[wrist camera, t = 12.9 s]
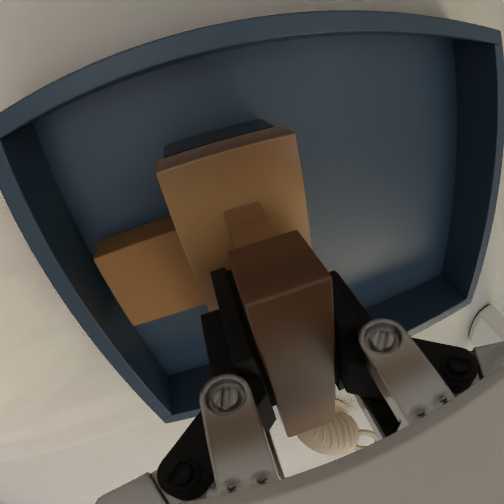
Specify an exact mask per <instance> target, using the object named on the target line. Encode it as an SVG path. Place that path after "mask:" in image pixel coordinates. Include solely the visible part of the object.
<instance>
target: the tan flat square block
mask: <svg viewBox="0 0 504 504" xmlns="http://www.w3.org/2000/svg"><path fill="white" fill-rule="evenodd" d="M93 259H94V262H95V263H96V265H97V267H98V269H99V270H100V272H101V274H102V276H103V278H104V279H105V281H106V283H107V284H108V286H109V288H110V289H111V291H112V293H113V295H114V296H115V298H116V299H117V301H118V303H119V304H120V306H121V308H122V309H123V311H124V312H125V314H126V316H127V317H128V319H129V320H130V322H131V323H132V325H133V326H135V325H139V324H142V323H145V322H149V321H152V320H155V319H159V318H162V317H165V316H169V315H172V314H175V313H178V312H182V311H185V310H188V309H191V308H195V307H198V306H201V305H204V304H206V303H205V301H204V299H203V296H202V294H201V291H200V289H199V287H198V284H197V282H196V279H195V277H194V274H193V272H192V269H191V267H190V264H189V262H188V259H187V257H186V254H185V252H184V249H183V247H182V244H181V242H180V239H179V236H178V234H177V231H176V229H175V226H174V223H173V221H172V218H171V216H168V217H165V218H162V219H159V220H156V221H153V222H150V223H148V224H145V225H142V226H139V227H136V228H133V229H131V230H128V231H125V232H122V233H119V234H117V235H114V236H111V237H109V238H106V239H103V240H101V241H99V242H98V245H97V248H96V252H95V255H94V258H93Z"/></svg>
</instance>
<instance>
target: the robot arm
mask: <svg viewBox="0 0 504 504" xmlns="http://www.w3.org/2000/svg"><path fill="white" fill-rule="evenodd" d="M329 273H330V275H331V276H332V286H333V306H334V333H335V384H336V386H337V387H338V389H339V390H342V389H344V388H345V390H346V392H348V393H351V394H355V397H356V399H357V401H358V403H359V405H360V407H361V408H362V410H363V412H364V414H365V416H366V418H367V420H368V421H369V423H370V425H371V427H372V429H373V431H374V432H375V434H376V436H377V438H378V440H379V441H377V442H375V443H373V444H371V445H369V446H367V447H365V448H362V449H360V450H358V451H356V452H353V453H351V454H349V455H346V456H344V457H342V458H339V459H337V460H334V461H332V462H329V463H327V464H324V465H321V466H319V467H316V468H313V469H311V470H308V471H305V472H302V473H299V474H296V475H293V476H290V477H287V478H285V475H284V473H283V470H282V467H281V464H280V461H279V458H278V455H277V452H276V449H275V446H274V443H273V440H272V436H271V433H270V428H271V427H272V425H273V423H274V422H275V420H276V417H275V413H274V410H273V408H272V406H275V405H276V402H275V399H274V396H273V393H272V390H271V387H270V384H269V381H268V378H267V375H266V372H265V369H264V366H263V363H262V360H261V357H260V354H259V351H258V348H257V345H256V342H255V340H254V337H253V334H252V331H251V328H250V325H249V322H248V319H247V316H246V313H245V310H244V307H243V304H242V301H241V298H240V295H239V292H238V288H237V285H236V282H235V279H234V276H233V273H232V269H231V270H228V271H226V268H225V267H223V268H220V269H217V270H214V271H211V272H210V274H211V278H212V282H213V287H214V291H215V295H216V299H217V303H218V307H219V309H217V310H214V311H211V312H208V313H204V314H201V316H200V317H201V323H202V329H203V334H204V339H205V344H206V350H207V355H208V360H209V365H210V370H211V374H212V379H211V380H210V381H208V382H207V383H206V384H205V386H204V387H203V388H202V390H201V393H200V407H201V411H200V412H199V414H198V415H197V416H196V418H195V419H194V420H193V422H192V423H191V424H190V426H189V427H188V428H187V429H186V431H185V432H184V433H183V435H182V436H181V437H180V439H179V440H178V441H177V442H176V444H175V445H174V446H173V448H172V449H171V450H170V451H169V453H168V454H167V455H166V457H165V458H164V459H163V460H162V462H161V463H160V465H159V467H158V470H156V471H154V472H153V473H151V474H150V473H148V472H147V473H145V474H143V475H142V476H140V477H138V478H136V479H134V480H132V481H130V482H128V483H126V484H124V485H122V486H120V487H118V488H116V489H114V490H112V491H110V492H108V493H106V494H104V495H102V496H101V497H100V498H98V500H97V501H96V503H95V504H504V341H502V342H498V343H493V344H489V345H484V346H479V347H474V348H473V351H468V350H467V349H464V348H461V347H456V346H451V345H446V344H441V343H435V342H430V341H426V340H421V339H416V338H411V337H410V335H409V334H408V333H407V332H406V330H405V329H404V328H403V327H402V326H401V325H400V324H399V323H398V322H396V321H394V320H392V319H387V318H378V319H374V320H372V318H371V317H370V315H369V314H368V313H367V311H366V310H365V309H364V307H363V306H362V304H361V303H360V302H359V300H358V299H357V298H356V296H355V295H354V294H353V292H352V291H351V290H350V288H349V287H348V286H347V284H346V283H345V282H344V280H343V279H342V278H341V276H340V275H339V274H338V273H337V272H336V271H335V270H333V271H330V272H329Z"/></svg>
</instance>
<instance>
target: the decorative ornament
mask: <svg viewBox="0 0 504 504" xmlns="http://www.w3.org/2000/svg"><path fill="white" fill-rule="evenodd" d="M347 413H348V407H347V406H346V405H345V403H344V402H340V401H339V400H338V399H335V420H334V421H332V422H330V423H327V424H325V425H322V426H319V427H317V428H314V429H311V430H309V431H306V432H303V433H300V434H298V435H297V436H298V438H299V439H300V440H301V441H302V442H303V443H304V444H305V445H306V446H308V447H309V448H311V449H312V450H314V451H316V452H318V453H321V454H325V455H342V454H346V453H349V452H351V451H352V450H353V449H354V450H357V451H358V450H360V449H362V448H365V447H367V446H359V445H357V443H358V441H359V436H360V435H367V436H371V437H373V438H374V439H375V442H377V441H379V440H378V438H377V436H376V434H375V432H373V431H370V430H359V428H358V425H357V423H356V422H355V420H354V419H353V418H352V417H351V416H350V415H348V414H347ZM375 442H374V443H375Z"/></svg>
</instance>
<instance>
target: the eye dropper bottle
mask: <svg viewBox="0 0 504 504" xmlns="http://www.w3.org/2000/svg"><path fill="white" fill-rule="evenodd" d="M469 337H470V340H471V342H472V343H473V344H474V346H475V347H479V346H484V345H489V344H493V343H498V342H502V341H504V317H503V316H502V315H501V314H500V313H499V312H498V311H497V309H496V308H495V307H494V306H492V305H488V306H487V307H485V308H484V309H483V310H482V311H480V312H479V313H478V315H477V316H476V318H475V320H474V322H473V324H472V326H471V329H470V334H469Z"/></svg>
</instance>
